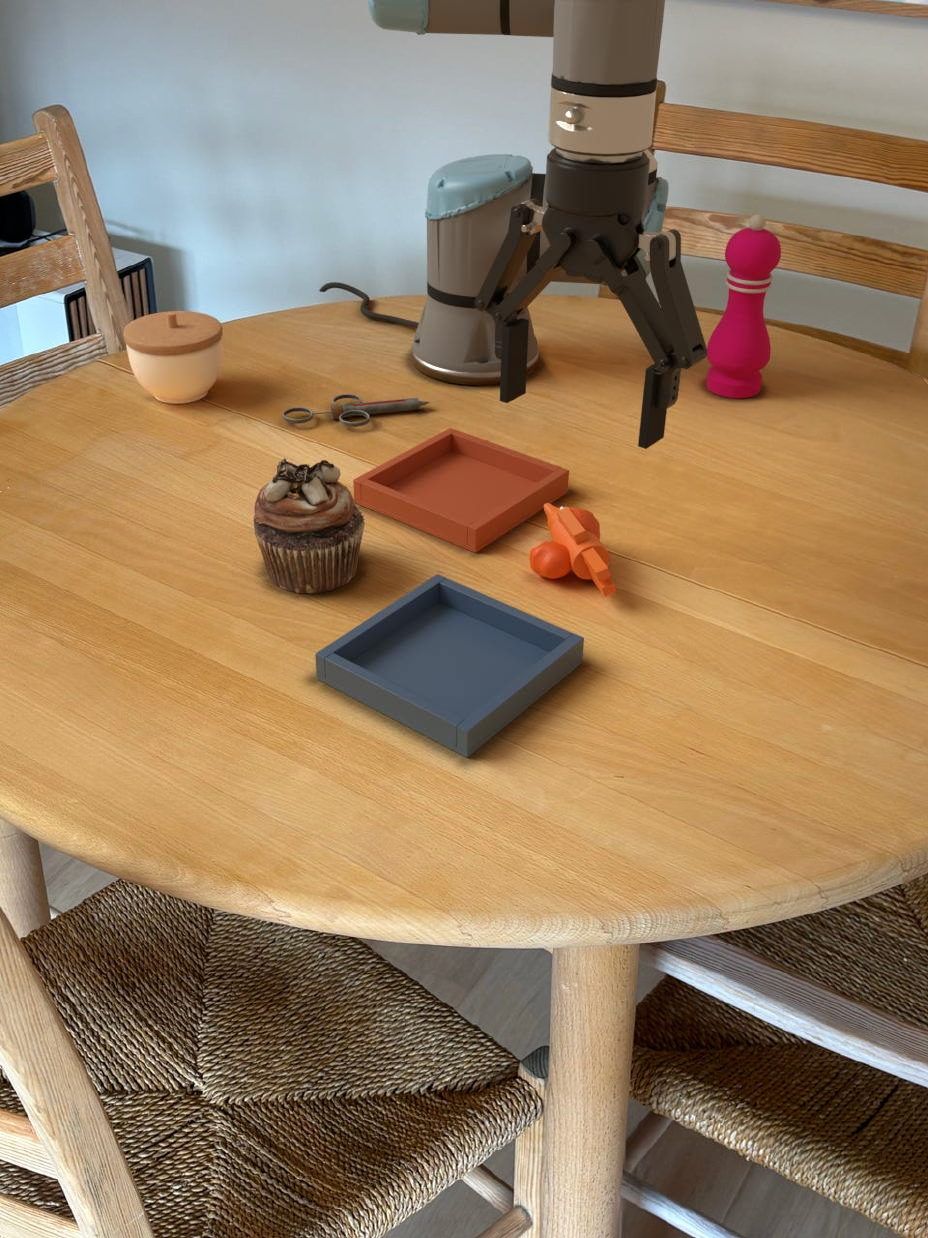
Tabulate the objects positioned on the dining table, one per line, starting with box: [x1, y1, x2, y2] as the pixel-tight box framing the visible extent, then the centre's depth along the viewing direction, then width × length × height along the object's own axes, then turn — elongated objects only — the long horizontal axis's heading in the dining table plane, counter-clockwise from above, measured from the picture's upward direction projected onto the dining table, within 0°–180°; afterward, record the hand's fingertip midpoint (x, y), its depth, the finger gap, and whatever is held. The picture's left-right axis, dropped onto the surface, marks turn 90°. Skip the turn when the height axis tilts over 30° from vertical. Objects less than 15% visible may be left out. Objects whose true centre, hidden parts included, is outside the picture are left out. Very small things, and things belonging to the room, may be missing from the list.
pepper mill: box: [705, 214, 782, 399], centre depth 139 cm, size 7×7×20 cm
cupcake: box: [253, 457, 366, 595], centre depth 108 cm, size 10×10×10 cm
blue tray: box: [314, 573, 585, 759], centre depth 98 cm, size 15×15×2 cm
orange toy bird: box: [529, 503, 617, 598], centre depth 110 cm, size 5×8×12 cm
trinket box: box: [122, 310, 224, 405], centre depth 139 cm, size 11×11×9 cm
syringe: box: [282, 393, 443, 428], centre depth 137 cm, size 8×18×2 cm, turn 105°
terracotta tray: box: [352, 427, 570, 554], centre depth 122 cm, size 15×15×2 cm
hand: (579, 419), depth 102 cm, fingers open, 13 cm apart
